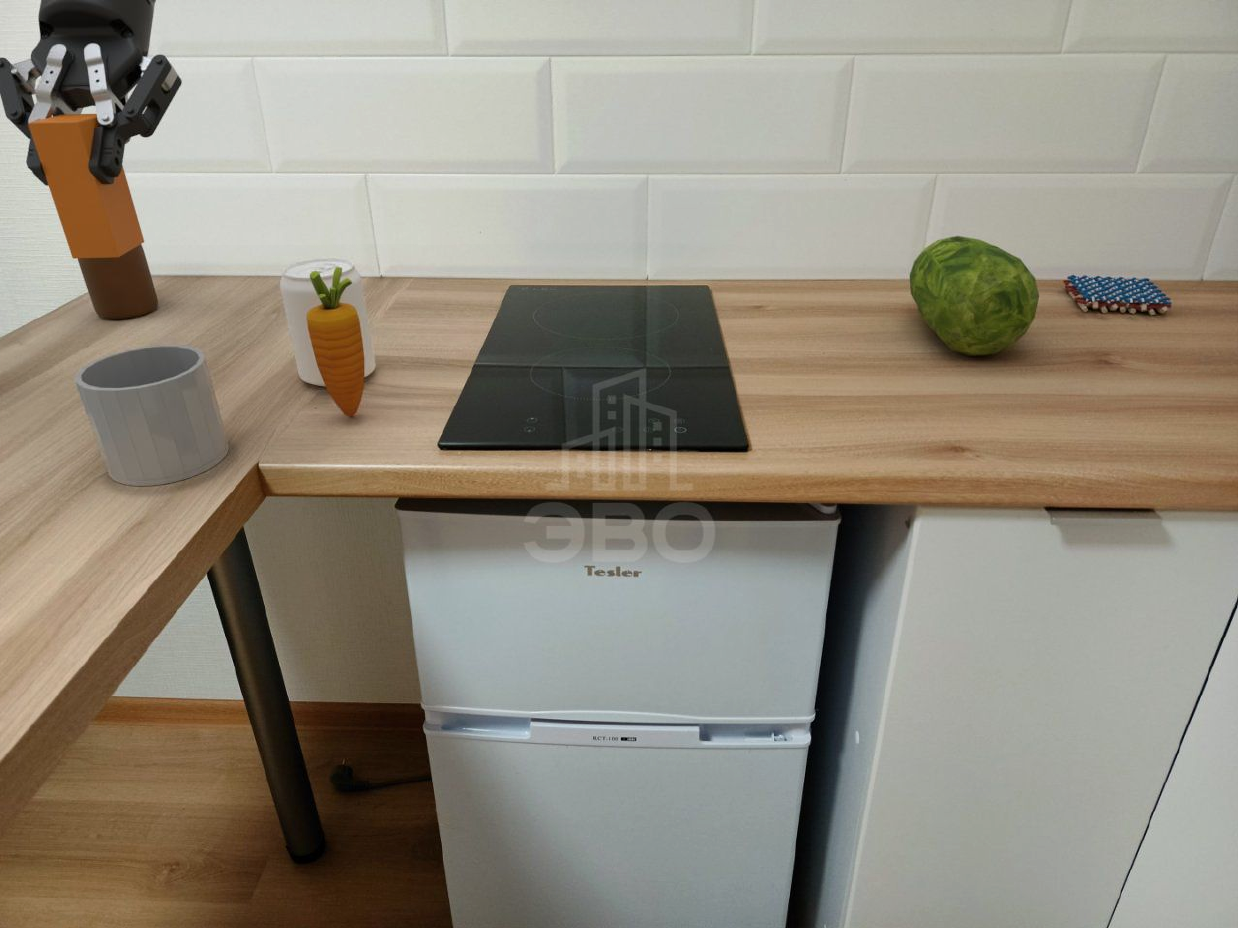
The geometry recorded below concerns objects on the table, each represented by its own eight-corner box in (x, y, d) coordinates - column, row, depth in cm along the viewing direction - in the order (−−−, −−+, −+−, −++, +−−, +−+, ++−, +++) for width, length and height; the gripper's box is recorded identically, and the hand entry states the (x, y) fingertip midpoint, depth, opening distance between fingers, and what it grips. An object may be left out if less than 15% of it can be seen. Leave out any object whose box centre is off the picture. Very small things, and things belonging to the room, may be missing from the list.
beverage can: (283, 384, 92) (259, 274, 86) (332, 357, 99) (312, 253, 93) (346, 394, 89) (324, 282, 83) (391, 366, 96) (374, 260, 90)
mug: (109, 296, 120) (87, 228, 115) (168, 290, 122) (149, 223, 117) (90, 323, 110) (66, 250, 105) (155, 317, 112) (134, 245, 107)
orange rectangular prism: (72, 258, 67) (27, 123, 62) (101, 243, 71) (60, 114, 66) (118, 257, 67) (77, 121, 62) (144, 242, 71) (108, 113, 66)
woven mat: (1058, 287, 117) (1062, 272, 116) (1144, 291, 115) (1148, 276, 114) (1078, 312, 108) (1082, 296, 107) (1171, 317, 106) (1176, 301, 105)
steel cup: (82, 473, 76) (47, 379, 71) (173, 426, 84) (147, 338, 79) (165, 495, 72) (134, 397, 68) (252, 443, 80) (230, 353, 76)
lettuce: (968, 303, 111) (985, 215, 106) (1041, 364, 93) (1066, 262, 88) (880, 305, 111) (892, 217, 106) (936, 367, 93) (954, 265, 88)
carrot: (362, 401, 88) (336, 256, 80) (386, 417, 85) (361, 267, 77) (316, 416, 85) (284, 267, 78) (339, 433, 82) (309, 279, 74)
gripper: (-21, -44, 66) (-61, 150, 61) (167, -48, 66) (141, 145, 61) (41, 30, 73) (10, 209, 68) (210, 27, 73) (190, 205, 68)
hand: (72, 178), depth 65 cm, fingers closed on orange rectangular prism, 3 cm apart
